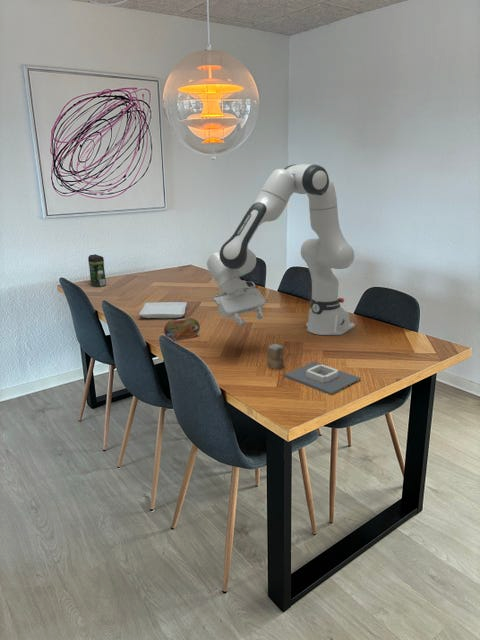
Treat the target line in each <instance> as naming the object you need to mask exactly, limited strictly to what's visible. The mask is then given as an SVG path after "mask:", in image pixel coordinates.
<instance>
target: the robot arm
mask: <svg viewBox="0 0 480 640" xmlns="http://www.w3.org/2000/svg"><path fill="white" fill-rule="evenodd" d="M294 193H295V194H300V195H307V197H308V209H309V211H308V212H309V219H310V220H309V221H310V227H311V230H312V231H314V232H315V234H316V235H317V237H318V238H309V239H307V240H305V241H304V242H303V243H302V245H301V247H300V256H301V259H302V260H304V262H305V263H306V265H307V268H308V271H309V274H310V278H311V279H310V280H311V298H310V308H309V310H308V318H307V319H308V320H307V322H306V323H305V326H306V331H307V332H309V333H311V334H314V335H319V336H342V335H343V334H345V333H348V331H351V329H353V328H355V327H356V326H355V323H354V322H351V321H350V314H349V312H348V311H346V310H345V309H344V308H343V307H341V304H344V301H345V299H344V298H343V297H339V289H340V288H339V287H340V286H339V285H340V284H339V279H338V278H337V276H335V274H334V272H333V270H343V269H345V270H346V269H348V268H349V267H350V266H351V265H352V264H353V262H354V259H355V250H354V249H353V247H352V246H351V245H350V244H349V243H348V242H347V240H346V238H345V237H344V234H343V232H342V230H341V227H340V223H339V212H338V199H337V192H336V189H335V185H334V182H333V181H332V180H331V179H330V177H329V174H328V172H327V170H326V169H325V167H323V166H322V165H319V164H309V163H301V164H290V165H288V166H286V167H284V168H277V169H275V170H273V171H272V172H271V173H270V175H269V177H268V178H267V179H266V181H265V182H264V184H263V185H262V187H261V190H260V191H259V193H258V195H257V197H256V199H255V201H253V204H252V205H251V206H250V207H249V208H248V210H247V211H246V213H245V215H244V216H243V217H242V219H241V221H240V223H238V226H237V227H236V229H235V231H234V232H233V234H232V235H231V236H230V238H228V240H226V241H225V242H224V243H223V244H222V245H221V247H220V249H219V251H215V252H214V253H212V254H211V255H210V256H209V257H208V259H207V262H206V266H207V269H208V271H209V274H210V276H211V278H212V279H213V282H215V283H216V285H217V287H218V290H219V291H220V294H219V293H218V294H216V295H215V296H214V298H213V300H214V302H215V304H216V307H217V309H218V311H219V314H220V315H221V317H223V318H224V319H226V318H227V319H228V318H230V317H231V318H232V320H234V321H235V322H237V324H238V325H239V326H242V325H244V324H245V323H246V321H245V320H244V318H241V317H240V316H239V315H242V314H245V313H249V312H252V311H255V312H256V318H257V320H258V321H260V320H262V319H264V315H263V313H262V309H263V307H264V306H265V304H266V299H265V297H264V295H263V294H262V293H261V291H260V290H259V289H258V288H257V287H256V284H255V282H253V281H248V280H244V279H243V280H242V279H241V278H240V277H244V276H246V275H248V274H249V273H251V272H252V271H254V269H255V268H256V266H257V262H258V261H257V256H256V254H255V253H254V252H253V251H252V250H251V249H249V244H250V243H251V241H252V238H253V237H254V235H255V234H256V232H257V230H258V228H259V227H260V226H261V225H262V224H263V223H266V222H269V223H270V222H273V221H276V220H278V219H279V218H280V216H281V215H282V214H283V212H284V210H285V208H286V206H287V205H288V204H289V200H290V198H291V196H292V195H293V194H294ZM332 269H333V270H332Z"/></svg>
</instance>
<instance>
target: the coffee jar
mask: <svg viewBox="0 0 480 640" xmlns="http://www.w3.org/2000/svg"><path fill="white" fill-rule="evenodd" d="M87 259H88V261H87V262H88V268H89V277H90V278H89V279H90V285H91V286H92V287H96V288H97V287H99V286H102V287H104V285H105V286H106V285H107V280H106V279H107V278H106V274H105V273H106V272H105V259H104V256H102V255H98V254H89V256H88V257H87ZM99 288H100V287H99Z"/></svg>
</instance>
